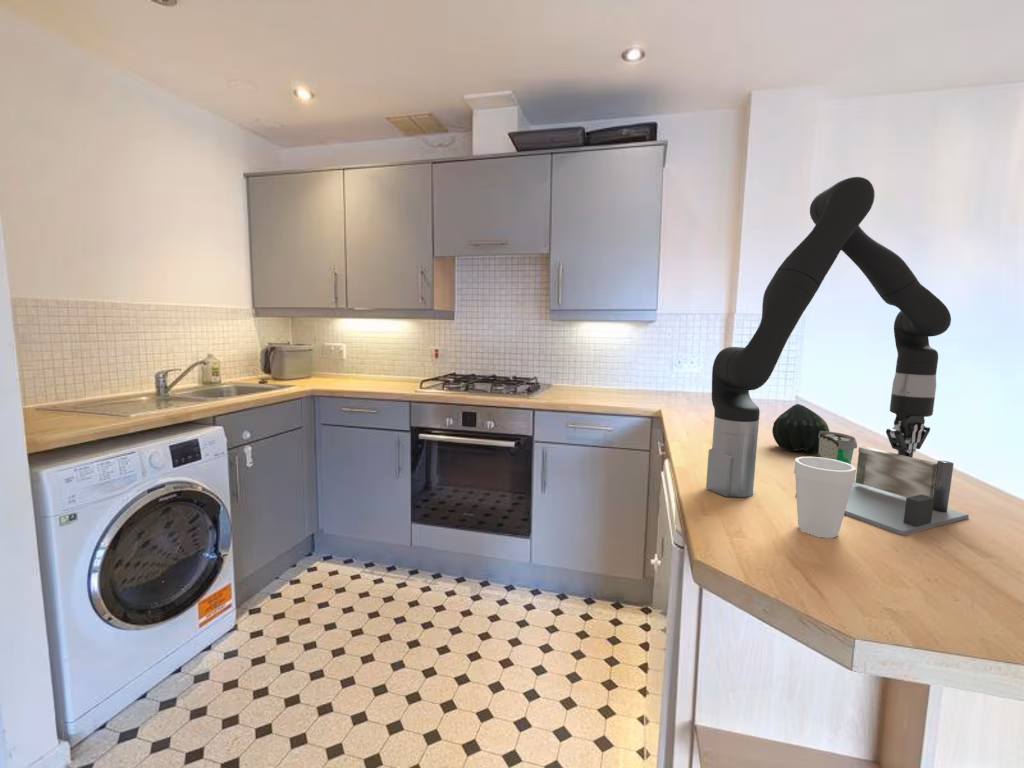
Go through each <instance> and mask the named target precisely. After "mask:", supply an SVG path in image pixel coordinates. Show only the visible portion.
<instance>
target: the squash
mask: <svg viewBox="0 0 1024 768" xmlns="http://www.w3.org/2000/svg"><path fill="white" fill-rule="evenodd" d="M820 431H828V432H831V431H830V429H829V425H828V424H827V421H825V419H824V418H822V417H821V416H820V415H819V414H817V413H816V412H815V411H813V410H811V409H809V408H808V407H807V406H805V405H802V404H800V403H796V404H794V405H792V406H791V407H789V408H788V409H787V410H785V411H784V412H783V413H781V414H780V415H778V417H777V418H776V419H775V420H774V421H773V426H772V431H771V432H772V436H773V439H774V441H775V442H776V444H777V445H778V447H780V448H782V449H784V450H786V451H789V452H794V451H797V452H798V451H801V450H803V451H805V452H806V453H808V454H811V455H813V454H818V452H819V438H818V436H819V432H820Z"/></svg>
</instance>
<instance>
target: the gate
mask: <svg viewBox="0 0 1024 768" xmlns="http://www.w3.org/2000/svg"><path fill="white" fill-rule="evenodd" d="M857 452H858V456H857V465H856V467H857V468H856V474H855V483H859V484H862V485H866V486H870V487H873V488H877V489H880V490H883V491H887V492H890V493H893V494H897V495H900V496H903V497H907V498H908V497H913V496H917V495H925V496H929V497H932V498H933V493H934V485H935V478H936V470H937V463H938V462H934V461H930V460H926V459H925V460H924V459H921V458H917V457H914V456H913V457H908V456H904V455H900V454H898V453H893V452H890V451H885V450H881V449H878V448H873V447H868V446H859V447H858V451H857Z"/></svg>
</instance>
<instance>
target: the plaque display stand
mask: <svg viewBox="0 0 1024 768" xmlns="http://www.w3.org/2000/svg"><path fill="white" fill-rule="evenodd" d="M936 463H937V470H936V477H935V485H934V492H933V498H932V497H929V496H925V495H917V496H913V497H908V498H907V497H903V496H900V495H897V494H893V493H890V492H887V491H883V490H880V489H877V488H873V487H870V486H866V485H862V484H859V483H856V482H854V483H853V485H852V488H851V492H850V495H849V499H848V502H847V506H846V510H845V513H844V515H845V514H846V515H845V516H848V515H849V516H848V517H850V518H853V517H854V518H853V519H856V518H857V520H859V519H860V520H859V521H862V522H864V521H865V523H867V524H870V525H873V526H876V527H879V528H882V529H884V530H887V531H889V532H892V533H894V534H898V535H900V536H905V535H908V534H913V533H917V532H921V531H924V530H928V529H932V528H937V527H941V526H943V525H948V524H951V523H952V524H953V523H956V522H958V521H963V520H967V519H969V516H970V514H969V513H966V512H962V511H959V510H955V509H952V508H949V501H950V492H951V487H952V485H951V484H952V476H953V470H954V462H952V461H947V460H937V462H936Z"/></svg>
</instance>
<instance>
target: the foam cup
mask: <svg viewBox="0 0 1024 768" xmlns="http://www.w3.org/2000/svg"><path fill="white" fill-rule="evenodd" d="M793 473H794V477H795V491H796V492H795V497H796V510H797V511H796V512H797V513H796V514H797V526H798V525H799V526H798V527H799V528H800V529H801V530H802V531H804V532H806V533H808V534H807V535H809V534H811V535H810V536H812V535H814V536H813V537H815V536H818V537H817V538H820V537H825V538H824V539H834V538H833V537H836V536H838V537H839V534H840V531H841V527H842V524H843V521H844V520H843V519H844V516H845V514H844V513H845V510H846V506H847V502H848V499H849V495H850V492H851V488H852V485H853V483H856V473H857V468H856V466H855V465H853V464H852V463H851V464H849V463H845V462H842V461H838V460H834V459H828V458H821V457H817V456H799V457H795V459H794V470H793ZM799 528H798V529H799ZM800 529H799V530H800ZM801 530H800V531H801ZM802 531H801V532H802ZM804 532H803V533H804ZM806 533H805V534H806ZM830 537H831V538H830ZM836 538H837V537H836Z"/></svg>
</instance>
